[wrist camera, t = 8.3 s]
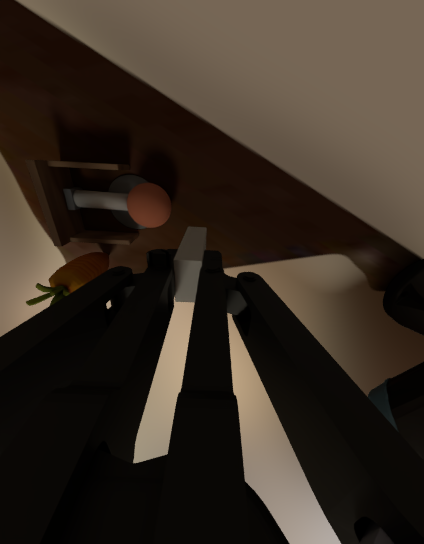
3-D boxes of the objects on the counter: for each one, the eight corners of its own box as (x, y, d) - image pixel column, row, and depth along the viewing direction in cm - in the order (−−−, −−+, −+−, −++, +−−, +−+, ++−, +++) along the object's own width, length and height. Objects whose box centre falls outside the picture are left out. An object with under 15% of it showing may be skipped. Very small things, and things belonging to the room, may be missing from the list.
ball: (109, 208, 27) (134, 203, 32) (143, 240, 27) (162, 230, 33) (132, 171, 24) (155, 172, 29) (169, 209, 25) (185, 203, 30)
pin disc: (170, 208, 31) (170, 208, 31) (135, 238, 34) (135, 238, 34) (132, 162, 28) (132, 162, 28) (97, 198, 31) (96, 198, 31)
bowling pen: (129, 164, 29) (110, 164, 23) (138, 236, 34) (124, 249, 28) (60, 161, 28) (25, 159, 23) (79, 233, 33) (54, 246, 28)
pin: (123, 193, 28) (62, 188, 28) (125, 213, 29) (68, 209, 29) (130, 191, 30) (74, 186, 30) (132, 210, 32) (79, 206, 31)
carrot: (89, 259, 36) (15, 314, 22) (96, 236, 34) (19, 281, 20) (116, 271, 37) (61, 331, 24) (124, 249, 35) (69, 301, 22)
